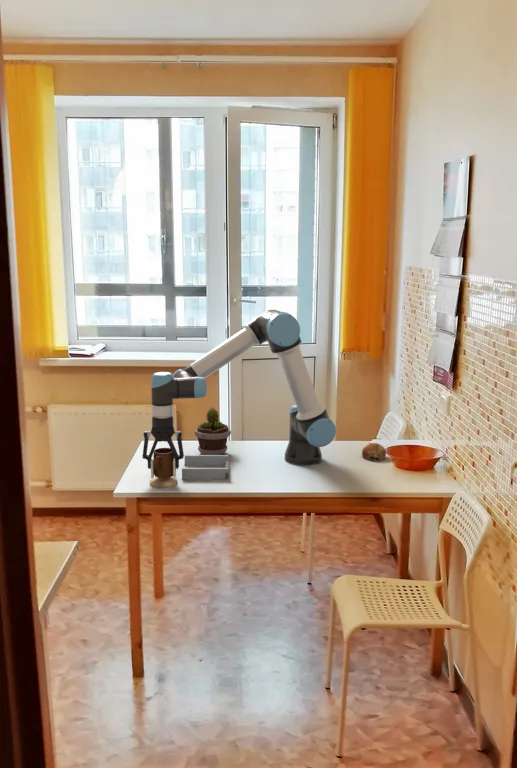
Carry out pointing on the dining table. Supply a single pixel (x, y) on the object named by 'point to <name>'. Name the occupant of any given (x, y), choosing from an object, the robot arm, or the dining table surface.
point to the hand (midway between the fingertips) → (163, 476)
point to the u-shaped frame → (206, 472)
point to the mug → (163, 462)
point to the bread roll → (374, 452)
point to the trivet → (163, 482)
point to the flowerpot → (212, 435)
